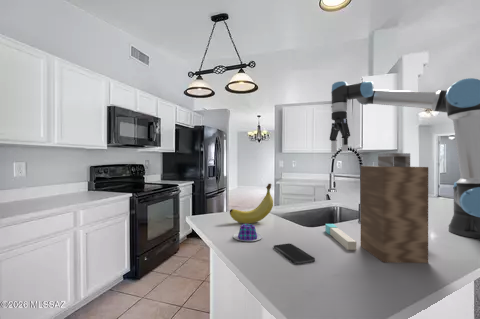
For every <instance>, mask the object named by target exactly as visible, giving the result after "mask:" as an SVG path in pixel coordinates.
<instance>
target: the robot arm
mask: <svg viewBox="0 0 480 319" xmlns="http://www.w3.org/2000/svg"><path fill="white" fill-rule="evenodd" d="M330 94H331V105H330V108H331V121H334V122H332V123H331V129H330V134H329V135H330V136H329V141H330V142H331V145H330V146H331V147H330V149H331V152H330V153H334V154H335V153H337V148H338V144H337V143H338V142H337V141H338V134H339V132H340V134H341V152H346V153H347V152H348V151H349V150H348V148H349V137H351V132H350V128H349V124H348V113H347V111H348V101H349V100H356V101H357V102H358V103H359V104H360V105H365V106H367V105H379V106H380V105H381V106H395V107H406V108H416V109H418V108H419V109H430V110H432V111H433V112H439V113H446V114H447V118H448V119H450V120H452V121H453V122H452V123H453V130H454V137H455V144H456V152H457V160H458V167H459V168H458V169H459V175H460V178H459V179H458V180H457V181H454V183H453V188H452V189H453V215H452V218H451V220H450V223H449V224H448V232H449V233H452V234H455V235H458V236H460V237H462V236H463V237H466V238H471V239H472V238H473V239H479V240H480V79H478V78H471V77H470V78H463V79H460V80H458V81H456V82H454V83H453V84H452V85H450V86H449V87H448V89H447V90H446V89H445V90H441V89H440V90H438V91H434V92H433V91H432V92H431V91H417V90H416V91H413V90H392V89H391V90H389V89H374V82H373V81H372V80H371V81H363V82H357V83H353V84H348V82H347V81H344V80H343V81H336V82H334V83H333V84H332V85H331V92H330Z"/></svg>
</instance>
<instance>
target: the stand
mask: <svg viewBox="0 0 480 319" xmlns="http://www.w3.org/2000/svg"><path fill="white" fill-rule="evenodd" d="M377 156H378V157H377V165H360V248H362V249H364V250H366V251H367V252H368V253H370V255H371V256H372V255H373V256H374V257H375V258H376V259H378V260H379V261H381V262H382V263H396V264H397V263H399V264H400V263H401V264H403V263H404V264H405V263H406V264H407V263H409V264H410V263H411V264H412V263H413V264H414V263H416V264H425V263H426V264H428V263H429V167H428V166H411V153H410V152H409V153H403V152H401V153H399V152H398V153H397V152H390V153H389V152H387V153H384V152H383V153H377Z"/></svg>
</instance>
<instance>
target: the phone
mask: <svg viewBox="0 0 480 319" xmlns="http://www.w3.org/2000/svg"><path fill="white" fill-rule="evenodd" d="M273 250H275V251H276V252H277V253H279V254H280V255H281V256H283V257H284V258H285V259H286V260H288V262H290V263H292V264H293V265H296V266H298V265H304V264H310V263H311V264H312V263H314V262H316V258H315V256H312V255H311V254H309V253H307V252H306V251H304V250H302V249H301V248H299V247H298V246H296V245H294V243H282V244H274V245H273Z"/></svg>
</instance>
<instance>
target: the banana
mask: <svg viewBox="0 0 480 319" xmlns="http://www.w3.org/2000/svg"><path fill="white" fill-rule="evenodd" d="M265 188H266V194H265V196H264V197H263V199H262V200H261V202H260V203H259V205H258V206H256V207H255V208H253V209H251V210H247V211H246V210H244V211H243V210H238V209H235V208H232V209H230V210H229V215H230V217H231V218H232V220H234V221H235V222H237V223H241V224H255V223H258V222H260V221H262V220H264V218H266V217H267V216H268V215H269V214H270V213H271V211H272V210H273V207H274V199H273V197H272V194H271V189H272V183H267V186H266V187H265Z"/></svg>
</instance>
